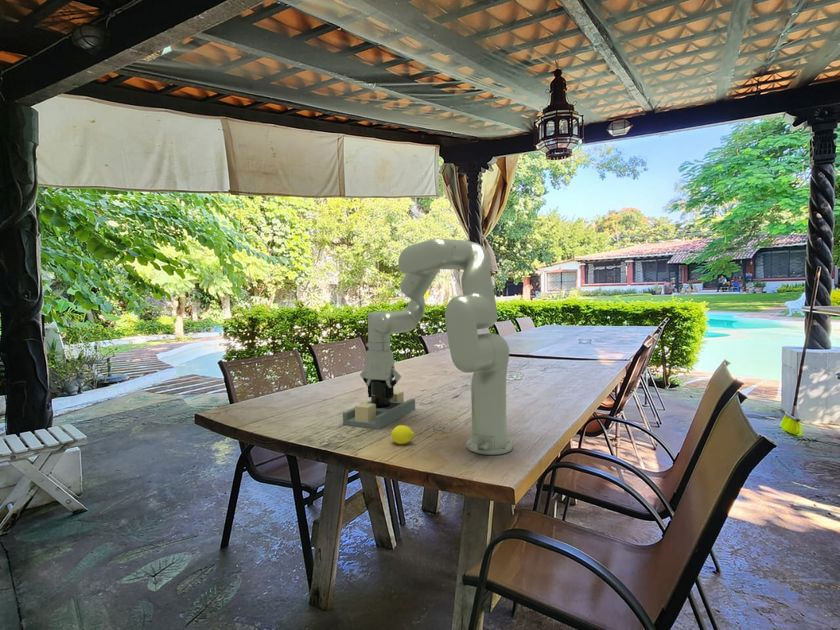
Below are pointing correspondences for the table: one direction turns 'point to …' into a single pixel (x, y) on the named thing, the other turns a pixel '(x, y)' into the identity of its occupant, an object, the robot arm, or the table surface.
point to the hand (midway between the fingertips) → (380, 397)
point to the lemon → (402, 434)
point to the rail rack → (378, 412)
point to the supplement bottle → (379, 394)
